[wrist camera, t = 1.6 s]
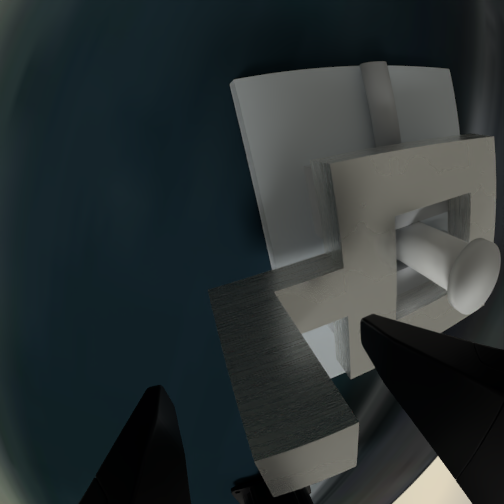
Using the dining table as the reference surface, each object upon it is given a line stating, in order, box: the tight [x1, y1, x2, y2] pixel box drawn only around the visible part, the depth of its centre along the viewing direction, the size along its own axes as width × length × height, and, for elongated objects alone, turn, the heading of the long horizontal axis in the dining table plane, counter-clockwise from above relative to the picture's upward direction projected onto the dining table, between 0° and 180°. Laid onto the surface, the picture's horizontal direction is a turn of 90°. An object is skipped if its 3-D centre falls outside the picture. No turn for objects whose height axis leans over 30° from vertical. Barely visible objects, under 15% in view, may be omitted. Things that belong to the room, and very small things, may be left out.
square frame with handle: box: [208, 134, 496, 497], centre depth 9 cm, size 14×9×7 cm, turn 103°
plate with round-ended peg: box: [230, 61, 501, 378], centre depth 12 cm, size 16×12×7 cm
